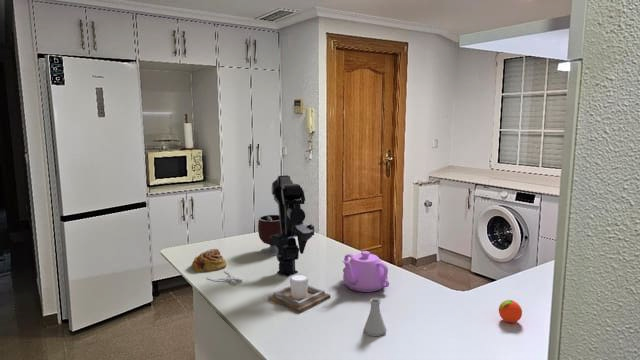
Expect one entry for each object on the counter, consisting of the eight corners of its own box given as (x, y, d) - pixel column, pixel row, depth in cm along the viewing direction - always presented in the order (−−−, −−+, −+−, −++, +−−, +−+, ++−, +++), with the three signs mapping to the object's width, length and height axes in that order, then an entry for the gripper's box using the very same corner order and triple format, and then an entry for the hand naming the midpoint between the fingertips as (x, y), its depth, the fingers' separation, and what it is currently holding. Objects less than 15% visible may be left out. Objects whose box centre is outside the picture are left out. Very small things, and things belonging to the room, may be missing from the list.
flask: (361, 325, 137) (361, 296, 136) (383, 324, 138) (384, 295, 136) (365, 337, 130) (365, 306, 129) (389, 336, 131) (389, 305, 129)
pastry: (227, 270, 187) (226, 252, 186) (191, 274, 183) (190, 256, 182) (225, 260, 200) (224, 243, 199) (191, 263, 196) (190, 246, 195)
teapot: (321, 288, 166) (321, 254, 164) (356, 273, 182) (356, 241, 180) (367, 305, 152) (367, 267, 149) (401, 286, 167) (402, 252, 165)
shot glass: (311, 293, 159) (311, 275, 158) (304, 300, 153) (304, 282, 152) (294, 290, 161) (293, 273, 160) (286, 298, 155) (286, 279, 154)
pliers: (225, 269, 185) (248, 277, 175) (225, 272, 185) (248, 281, 175) (206, 275, 177) (228, 284, 168) (206, 279, 178) (228, 288, 168)
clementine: (507, 329, 134) (509, 307, 133) (490, 319, 141) (491, 298, 139) (526, 324, 137) (527, 302, 136) (509, 314, 144) (510, 294, 143)
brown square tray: (299, 286, 168) (299, 279, 168) (330, 297, 158) (330, 291, 157) (268, 299, 157) (268, 292, 156) (299, 313, 146) (299, 305, 146)
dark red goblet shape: (263, 247, 218) (261, 208, 215) (290, 247, 216) (289, 209, 213) (254, 257, 203) (252, 215, 200) (283, 258, 201) (282, 216, 198)
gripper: (289, 225, 153) (290, 268, 155) (324, 216, 166) (324, 255, 169) (268, 220, 160) (269, 261, 162) (303, 211, 174) (304, 249, 176)
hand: (293, 256), depth 167 cm, fingers open, 9 cm apart
